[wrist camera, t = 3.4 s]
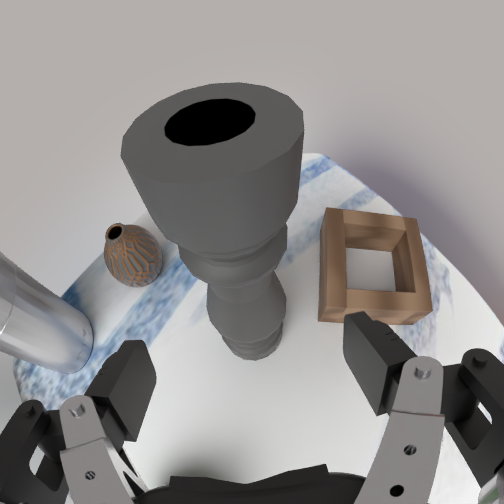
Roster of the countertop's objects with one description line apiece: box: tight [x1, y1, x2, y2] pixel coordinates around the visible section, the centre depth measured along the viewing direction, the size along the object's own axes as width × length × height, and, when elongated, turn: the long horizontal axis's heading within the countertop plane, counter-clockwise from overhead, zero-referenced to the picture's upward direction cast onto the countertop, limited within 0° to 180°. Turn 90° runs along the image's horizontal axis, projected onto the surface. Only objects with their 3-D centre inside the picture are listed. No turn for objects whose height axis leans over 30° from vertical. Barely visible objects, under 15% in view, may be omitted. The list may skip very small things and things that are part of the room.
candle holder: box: [121, 83, 304, 360], centre depth 18 cm, size 6×6×25 cm
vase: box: [104, 223, 162, 287], centre depth 30 cm, size 7×7×9 cm
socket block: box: [318, 208, 433, 325], centre depth 29 cm, size 12×12×5 cm
